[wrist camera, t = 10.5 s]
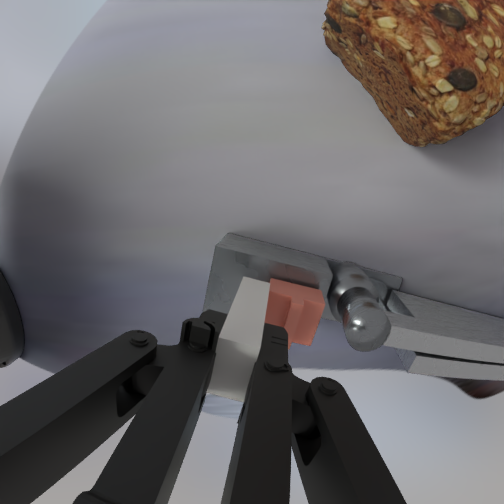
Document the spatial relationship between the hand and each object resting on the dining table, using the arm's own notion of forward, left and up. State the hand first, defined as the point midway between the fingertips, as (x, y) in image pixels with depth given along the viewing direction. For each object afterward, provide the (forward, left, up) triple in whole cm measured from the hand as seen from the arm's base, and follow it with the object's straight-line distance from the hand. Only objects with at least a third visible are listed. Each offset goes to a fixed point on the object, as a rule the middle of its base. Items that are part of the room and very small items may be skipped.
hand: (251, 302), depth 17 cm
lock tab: (+2, 0, -1) cm, 2 cm away
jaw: (+17, +1, -5) cm, 17 cm away
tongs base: (+13, 0, -5) cm, 14 cm away
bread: (+10, +21, -6) cm, 24 cm away
